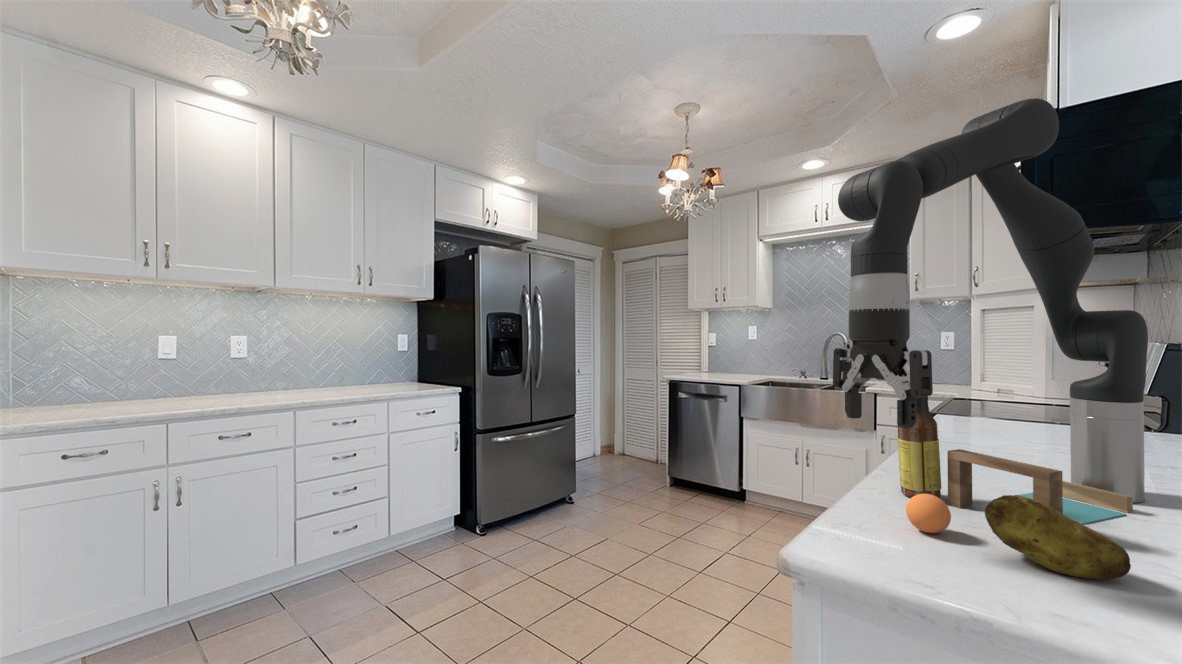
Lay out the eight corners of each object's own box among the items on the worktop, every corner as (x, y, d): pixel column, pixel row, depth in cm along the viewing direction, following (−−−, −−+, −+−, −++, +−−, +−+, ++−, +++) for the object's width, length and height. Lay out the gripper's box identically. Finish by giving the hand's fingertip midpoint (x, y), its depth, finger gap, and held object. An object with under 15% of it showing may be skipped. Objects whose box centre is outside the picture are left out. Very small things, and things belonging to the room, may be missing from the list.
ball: (923, 522, 77) (923, 487, 77) (960, 536, 71) (960, 498, 71) (897, 527, 75) (897, 491, 75) (933, 541, 70) (932, 502, 70)
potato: (1109, 599, 54) (1108, 526, 54) (975, 553, 66) (974, 493, 66) (1138, 581, 58) (1137, 513, 58) (1006, 541, 70) (1006, 484, 70)
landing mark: (1037, 492, 90) (1037, 491, 90) (1126, 515, 79) (1126, 514, 79) (993, 500, 87) (993, 499, 87) (1079, 525, 75) (1079, 523, 75)
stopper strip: (1051, 491, 91) (1051, 478, 91) (1132, 511, 81) (1132, 496, 81) (1046, 492, 91) (1046, 478, 91) (1127, 513, 80) (1127, 497, 80)
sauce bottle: (937, 493, 90) (936, 385, 91) (945, 504, 85) (944, 388, 85) (895, 488, 93) (894, 383, 93) (900, 499, 88) (899, 387, 88)
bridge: (960, 502, 86) (959, 449, 86) (1062, 534, 72) (1062, 470, 72) (947, 504, 85) (947, 450, 85) (1049, 536, 71) (1049, 472, 71)
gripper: (947, 305, 65) (947, 430, 64) (856, 310, 78) (856, 413, 78) (905, 304, 62) (905, 433, 62) (819, 309, 76) (818, 416, 76)
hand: (878, 422), depth 70 cm, fingers open, 8 cm apart
